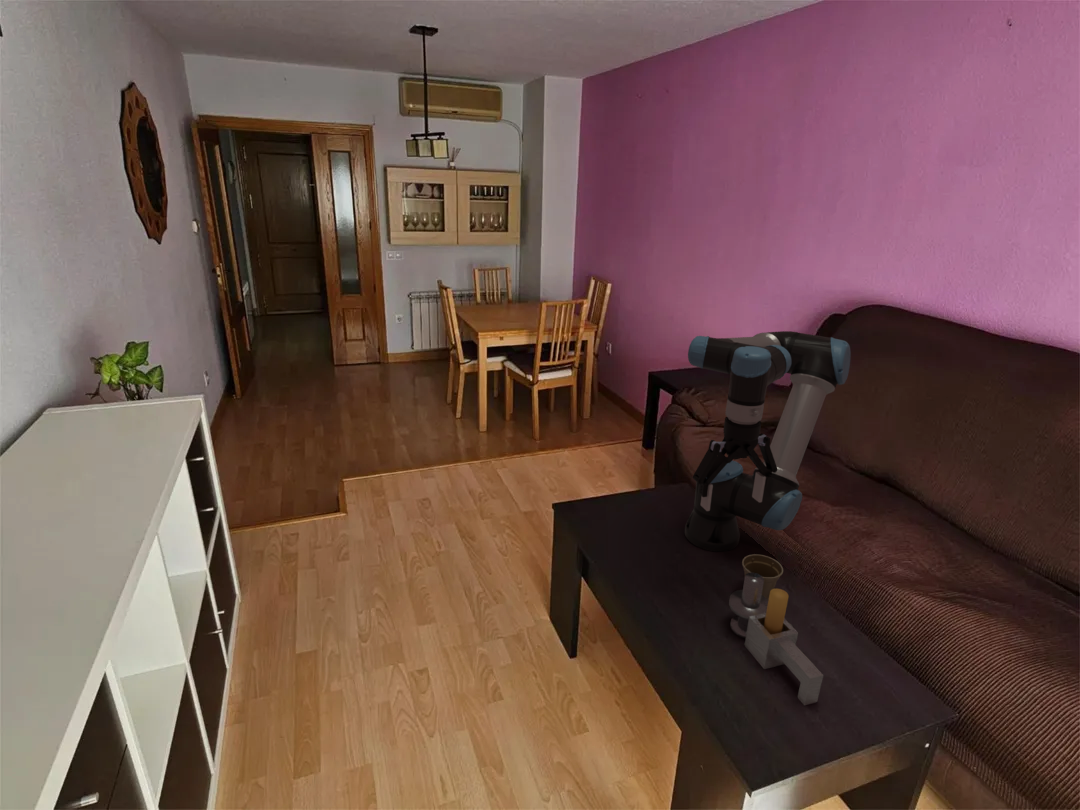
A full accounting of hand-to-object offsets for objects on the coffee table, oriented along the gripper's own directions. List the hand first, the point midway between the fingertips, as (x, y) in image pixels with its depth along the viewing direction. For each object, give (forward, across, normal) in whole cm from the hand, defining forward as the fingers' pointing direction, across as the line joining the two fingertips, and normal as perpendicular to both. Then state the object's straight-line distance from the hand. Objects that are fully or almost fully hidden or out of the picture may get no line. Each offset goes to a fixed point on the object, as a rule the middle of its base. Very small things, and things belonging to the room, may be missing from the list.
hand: (731, 503), depth 135 cm
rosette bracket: (+27, 0, -19) cm, 33 cm away
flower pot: (+27, +10, -2) cm, 29 cm away
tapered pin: (+25, 0, -19) cm, 31 cm away
